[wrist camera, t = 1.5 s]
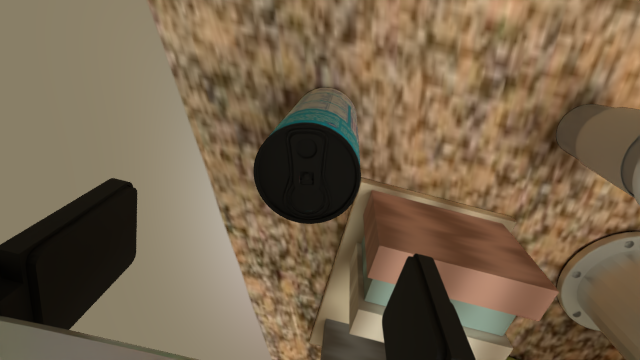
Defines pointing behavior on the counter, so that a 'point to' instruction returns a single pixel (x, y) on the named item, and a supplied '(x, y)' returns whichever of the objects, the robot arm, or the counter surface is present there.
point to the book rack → (452, 263)
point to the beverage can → (311, 159)
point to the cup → (605, 143)
